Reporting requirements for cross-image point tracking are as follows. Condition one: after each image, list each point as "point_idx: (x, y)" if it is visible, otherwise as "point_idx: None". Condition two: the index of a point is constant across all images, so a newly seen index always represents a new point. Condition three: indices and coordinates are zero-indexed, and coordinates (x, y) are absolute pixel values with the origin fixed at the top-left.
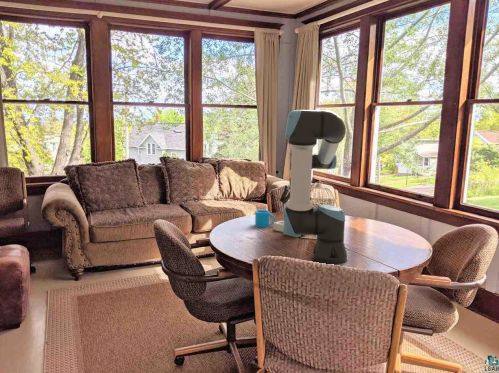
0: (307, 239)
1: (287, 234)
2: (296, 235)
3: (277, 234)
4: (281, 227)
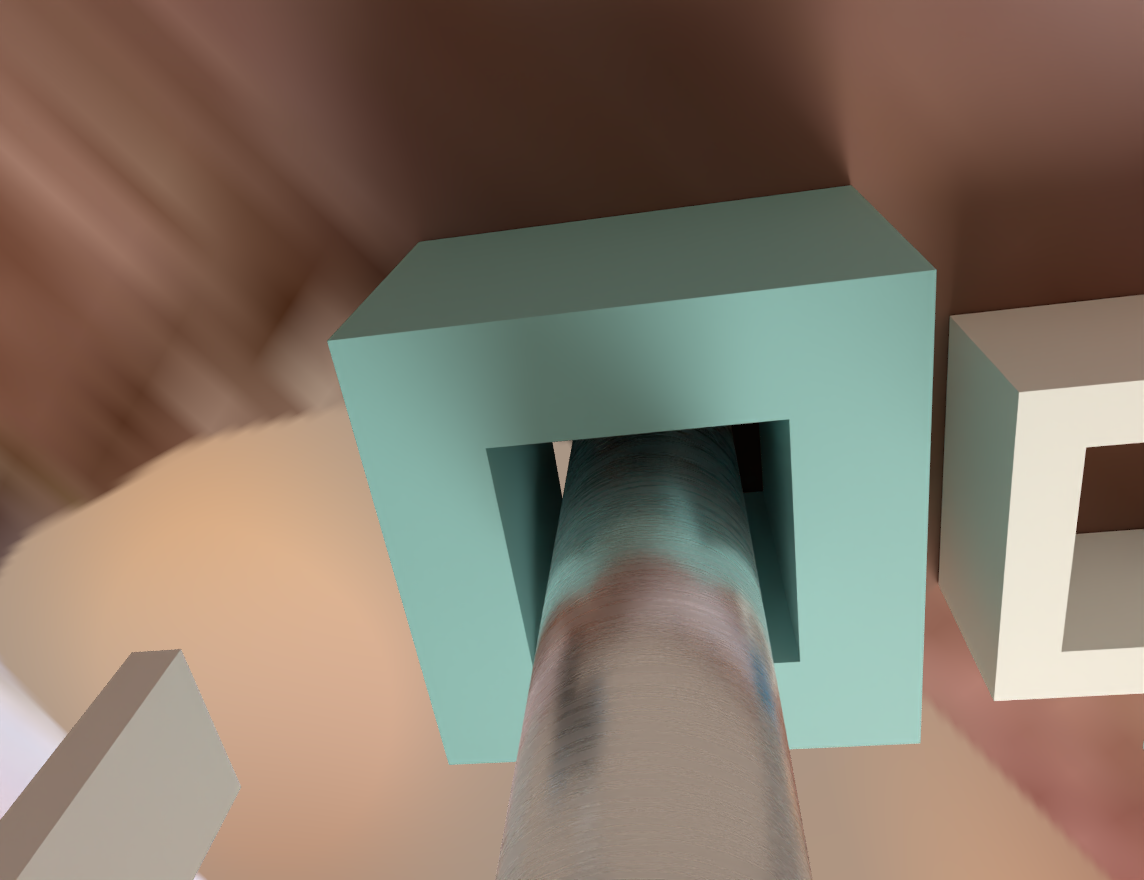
0: (176, 307)
1: (714, 205)
2: (427, 249)
3: (953, 21)
4: (1081, 345)
